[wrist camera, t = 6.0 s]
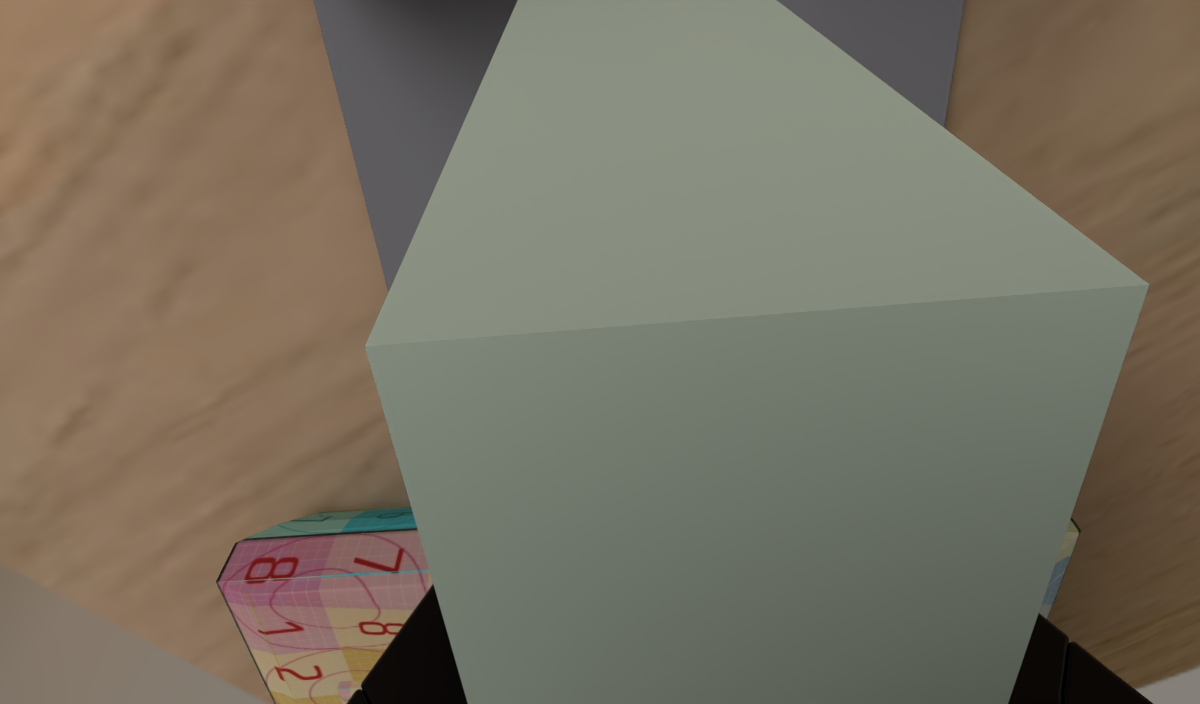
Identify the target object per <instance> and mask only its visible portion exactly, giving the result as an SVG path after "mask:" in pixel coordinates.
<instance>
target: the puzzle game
mask: <svg viewBox="0 0 1200 704" xmlns="http://www.w3.org/2000/svg"><path fill="white" fill-rule="evenodd" d="M1080 532H1081V529H1080V528H1079V527H1078V525H1077V524H1076V523H1075V521H1074V520H1073V519H1072V517H1071V518H1070V521H1069V524H1068V527H1067V530H1066V533H1065V536H1064V539H1063V542H1062V545H1061V548H1060V551H1059V554H1058V557H1057V560H1056V563H1055V566H1054V569H1053V572H1052V575H1051V578H1050V581H1049V584H1048V587H1047V590H1046V593H1045V596H1044V599H1043V601H1042V604H1041V607H1040V610H1039V613H1040V614H1041V615H1042V616H1044V617H1045V618H1046V619H1048V616H1049V613H1050V611H1051V608H1052V606H1053V603H1054V600H1055V598H1056V595H1057V592H1058V590H1059V587H1060V584H1061V582H1062V579H1063V577H1064V574H1065V571H1066V569H1067V566H1068V563H1069V561H1070V558H1071V556H1072V553H1073V550H1074V548H1075V545H1076V542H1077V540H1078V537H1079V534H1080ZM216 583H217V585H218V588H219V590H220V592H221V594H222V596H223V598H224V600H225V602H226V604H227V606H228V608H229V610H230V612H231V615H232V617H233V619H234V621H235V623H236V625H237V627H238V629H239V631H240V633H241V635H242V637H243V639H244V642H245V644H246V646H247V648H248V650H249V652H250V654H251V656H252V658H253V660H254V662H255V664H256V666H257V669H258V671H259V673H260V675H261V677H262V679H263V681H264V683H265V685H266V687H267V689H268V691H269V693H270V696H271V698H272V700H273V702H274V704H346V703H347V702H348V701H349V699H350V698H351V696H352V695H353V694H354V692H355V691H356V690H358V689H361V690H362V688H361V683H362V682H363V680H364V679H365V678H366V676H367V675H368V673H369V672H370V671H371V669H372V668H373V666H374V665H375V664H376V662H377V661H378V659H379V658H380V657H381V655H382V654H383V653H384V651H385V650H386V648H387V647H388V646H389V644H390V643H391V641H392V640H393V639H394V637H395V636H396V634H397V633H398V632H399V630H400V629H401V628H402V626H403V625H404V623H405V622H406V621H407V619H408V618H409V616H410V615H411V614H412V612H413V611H414V609H415V608H416V607H417V605H418V604H419V603H420V601H421V600H422V598H423V597H424V596H425V594H426V593H427V591H428V590H429V589H430V587H431V586H432V584H433V581H432V578H431V574H430V571H429V567H428V564H427V560H426V557H425V553H424V550H423V546H422V543H421V539H420V536H419V533H418V529H417V526H416V522H415V519H414V515H413V512H412V508H411V507H405V508H388V509H372V510H356V511H339V512H323V513H317V514H313V515H310V516H306V517H303V518H299V519H295V520H292V521H288V522H284V523H281V524H278V525H276V526H274V527H271V528H269V529H267V530H264V531H262V532H260V533H258V534H255V535H253V536H251V537H248V538H246V539H244V540H241V541H239V542H237V543H235V545H234V547H233V549H232V551H231V553H230V555H229V557H228V559H227V561H226V563H225V565H224V567H223V569H222V571H221V573H220V575H219V577H218V579H217V581H216Z"/></svg>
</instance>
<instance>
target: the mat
mask: <svg viewBox="0 0 1200 704" xmlns="http://www.w3.org/2000/svg"><path fill="white" fill-rule="evenodd" d="M517 1H518V0H314V4H315V7H316V11H317V15H318V19H319V23H320V27H321V31H322V35H323V39H324V43H325V46H326V50H327V54H328V58H329V62H330V66H331V70H332V74H333V78H334V82H335V85H336V89H337V93H338V97H339V101H340V105H341V109H342V113H343V117H344V121H345V124H346V128H347V132H348V136H349V140H350V144H351V148H352V152H353V156H354V160H355V163H356V167H357V171H358V175H359V179H360V183H361V187H362V191H363V195H364V199H365V202H366V206H367V210H368V214H369V218H370V222H371V226H372V230H373V234H374V238H375V241H376V245H377V249H378V253H379V257H380V261H381V265H382V269H383V273H384V277H385V280H386V284H387V288H388V292H389V291H390V288H391V286H392V284H393V282H394V279H395V277H396V275H397V273H398V270H399V268H400V266H401V263H402V261H403V259H404V257H405V254H406V252H407V250H408V248H409V245H410V243H411V241H412V239H413V236H414V234H415V232H416V229H417V227H418V225H419V223H420V220H421V218H422V216H423V214H424V211H425V209H426V207H427V205H428V202H429V200H430V198H431V196H432V193H433V191H434V189H435V186H436V184H437V182H438V180H439V177H440V175H441V173H442V171H443V168H444V166H445V164H446V162H447V159H448V157H449V155H450V152H451V150H452V148H453V146H454V143H455V141H456V139H457V137H458V134H459V132H460V130H461V128H462V125H463V123H464V121H465V118H466V116H467V114H468V112H469V109H470V107H471V105H472V103H473V100H474V98H475V96H476V94H477V91H478V89H479V87H480V85H481V82H482V80H483V78H484V75H485V73H486V71H487V69H488V66H489V64H490V62H491V60H492V57H493V55H494V53H495V51H496V48H497V46H498V44H499V41H500V39H501V37H502V35H503V32H504V30H505V28H506V26H507V23H508V21H509V19H510V17H511V14H512V12H513V10H514V7H515V5H516V3H517ZM777 1H778V2H780V3H781V4H782V5H784V6H785V7H786V8H788V9H789V10H790V11H791V12H793V13H794V14H795V15H797V16H798V17H799V18H801V19H802V20H803V21H805V22H806V23H807V24H809V25H810V26H811V27H812V28H814V29H815V30H816V31H818V32H819V33H820V34H822V35H823V36H824V37H826V38H827V39H828V40H829V41H831V42H832V43H833V44H835V45H836V46H837V47H839V48H840V49H841V50H843V51H844V52H845V53H847V54H848V55H849V56H850V57H852V58H853V59H854V60H856V61H857V62H858V63H860V64H861V65H862V66H864V67H865V68H866V69H867V70H869V71H870V72H871V73H873V74H874V75H875V76H877V77H878V78H879V79H881V80H882V81H883V82H885V83H886V84H887V85H888V86H890V87H891V88H892V89H894V90H895V91H896V92H898V93H899V94H900V95H902V96H903V97H904V98H905V99H907V100H908V101H909V102H911V103H912V104H913V105H915V106H916V107H917V108H919V109H920V110H921V111H923V112H924V113H925V114H926V115H928V116H929V117H930V118H932V119H933V120H934V121H936V122H937V123H938V124H940V125H941V126H942V127H944V126H945V119H946V113H947V107H948V100H949V94H950V88H951V81H952V75H953V69H954V63H955V56H956V50H957V44H958V37H959V31H960V25H961V18H962V12H963V6H964V0H777Z"/></svg>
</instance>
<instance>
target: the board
mask: <svg viewBox="0 0 1200 704" xmlns="http://www.w3.org/2000/svg"><path fill="white" fill-rule="evenodd" d="M1148 287H1149V284H1148V283H1147V282H1145V281H1144V280H1143V279H1141V278H1140V277H1139V276H1137V275H1136V274H1135V273H1134V272H1132V271H1131V270H1130V269H1128V268H1127V267H1126V266H1124V265H1123V264H1122V263H1120V262H1119V261H1118V260H1116V259H1115V258H1114V257H1113V256H1111V255H1110V254H1109V253H1107V252H1106V251H1105V250H1103V249H1102V248H1101V247H1099V246H1098V245H1097V244H1096V243H1094V242H1093V241H1092V240H1090V239H1089V238H1088V237H1086V236H1085V235H1084V234H1082V233H1081V232H1080V231H1078V230H1077V229H1076V228H1075V227H1073V226H1072V225H1071V224H1069V223H1068V222H1067V221H1065V220H1064V219H1063V218H1061V217H1060V216H1059V215H1058V214H1056V213H1055V212H1054V211H1052V210H1051V209H1050V208H1048V207H1047V206H1046V205H1044V204H1043V203H1042V202H1040V201H1039V200H1038V199H1037V198H1035V197H1034V196H1033V195H1031V194H1030V193H1029V192H1027V191H1026V190H1025V189H1023V188H1022V187H1021V186H1020V185H1018V184H1017V183H1016V182H1014V181H1013V180H1012V179H1010V178H1009V177H1008V176H1006V175H1005V174H1004V173H1002V172H1001V171H1000V170H999V169H997V168H996V167H995V166H993V165H992V164H991V163H989V162H988V161H987V160H985V159H984V158H983V157H982V156H980V155H979V154H978V153H976V152H975V151H974V150H972V149H971V148H970V147H968V146H967V145H966V144H964V143H963V142H962V141H961V140H959V139H958V138H957V137H955V136H954V135H953V134H951V133H950V132H949V131H947V130H946V129H945V128H944V127H942V126H941V125H940V124H938V123H937V122H936V121H934V120H933V119H932V118H930V117H929V116H928V115H926V114H925V113H924V112H923V111H921V110H920V109H919V108H917V107H916V106H915V105H913V104H912V103H911V102H909V101H908V100H907V99H905V98H904V97H903V96H902V95H900V94H899V93H898V92H896V91H895V90H894V89H892V88H891V87H890V86H888V85H887V84H886V83H885V82H883V81H882V80H881V79H879V78H878V77H877V76H875V75H874V74H873V73H871V72H870V71H869V70H867V69H866V68H865V67H864V66H862V65H861V64H860V63H858V62H857V61H856V60H854V59H853V58H852V57H850V56H849V55H848V54H847V53H845V52H844V51H843V50H841V49H840V48H839V47H837V46H836V45H835V44H833V43H832V42H831V41H829V40H828V39H827V38H826V37H824V36H823V35H822V34H820V33H819V32H818V31H816V30H815V29H814V28H812V27H811V26H810V25H809V24H807V23H806V22H805V21H803V20H802V19H801V18H799V17H798V16H797V15H795V14H794V13H793V12H791V11H790V10H789V9H788V8H786V7H785V6H784V5H782V4H781V3H780V2H778V1H777V0H518V1H517V3H516V5H515V7H514V10H513V12H512V14H511V17H510V19H509V21H508V23H507V26H506V28H505V30H504V32H503V35H502V37H501V39H500V41H499V44H498V46H497V48H496V51H495V53H494V55H493V57H492V60H491V62H490V64H489V66H488V69H487V71H486V73H485V75H484V78H483V80H482V82H481V85H480V87H479V89H478V91H477V94H476V96H475V98H474V100H473V103H472V105H471V107H470V109H469V112H468V114H467V116H466V118H465V121H464V123H463V125H462V128H461V130H460V132H459V134H458V137H457V139H456V141H455V143H454V146H453V148H452V150H451V152H450V155H449V157H448V159H447V162H446V164H445V166H444V168H443V171H442V173H441V175H440V177H439V180H438V182H437V184H436V186H435V189H434V191H433V193H432V196H431V198H430V200H429V202H428V205H427V207H426V209H425V211H424V214H423V216H422V218H421V220H420V223H419V225H418V227H417V229H416V232H415V234H414V236H413V239H412V241H411V243H410V245H409V248H408V250H407V252H406V254H405V257H404V259H403V261H402V263H401V266H400V268H399V270H398V273H397V275H396V277H395V279H394V282H393V284H392V286H391V288H390V291H389V293H388V295H387V297H386V300H385V302H384V304H383V307H382V309H381V311H380V313H379V316H378V318H377V320H376V322H375V325H374V327H373V329H372V331H371V334H370V336H369V338H368V340H367V343H366V345H365V348H366V352H367V355H368V359H369V362H370V366H371V369H372V373H373V376H374V380H375V383H376V387H377V390H378V394H379V397H380V401H381V404H382V407H383V411H384V414H385V418H386V421H387V425H388V428H389V432H390V435H391V439H392V442H393V446H394V449H395V453H396V456H397V460H398V463H399V467H400V470H401V473H402V477H403V480H404V484H405V487H406V491H407V494H408V498H409V501H410V505H411V508H412V512H413V515H414V519H415V522H416V526H417V529H418V533H419V536H420V539H421V543H422V546H423V550H424V553H425V557H426V560H427V564H428V567H429V571H430V574H431V578H432V581H433V585H434V588H435V592H436V595H437V599H438V602H439V605H440V609H441V612H442V616H443V619H444V623H445V626H446V630H447V633H448V637H449V640H450V644H451V647H452V651H453V654H454V658H455V661H456V665H457V668H458V671H459V675H460V678H461V682H462V685H463V689H464V692H465V696H466V699H467V703H468V704H1008V702H1009V699H1010V696H1011V693H1012V690H1013V688H1014V685H1015V682H1016V679H1017V676H1018V673H1019V670H1020V667H1021V664H1022V661H1023V658H1024V655H1025V652H1026V649H1027V646H1028V643H1029V640H1030V637H1031V634H1032V631H1033V628H1034V625H1035V622H1036V619H1037V616H1038V613H1039V610H1040V607H1041V604H1042V601H1043V599H1044V596H1045V593H1046V590H1047V587H1048V584H1049V581H1050V578H1051V575H1052V572H1053V569H1054V566H1055V563H1056V560H1057V557H1058V554H1059V551H1060V548H1061V545H1062V542H1063V539H1064V536H1065V533H1066V530H1067V527H1068V524H1069V521H1070V518H1071V515H1072V512H1073V510H1074V507H1075V504H1076V501H1077V498H1078V495H1079V492H1080V489H1081V486H1082V483H1083V480H1084V477H1085V474H1086V471H1087V468H1088V465H1089V462H1090V459H1091V456H1092V453H1093V450H1094V447H1095V444H1096V441H1097V438H1098V435H1099V432H1100V429H1101V426H1102V423H1103V420H1104V418H1105V415H1106V412H1107V409H1108V406H1109V403H1110V400H1111V397H1112V394H1113V391H1114V388H1115V385H1116V382H1117V379H1118V376H1119V373H1120V370H1121V367H1122V364H1123V361H1124V358H1125V355H1126V352H1127V349H1128V346H1129V343H1130V340H1131V337H1132V334H1133V331H1134V329H1135V326H1136V323H1137V320H1138V317H1139V314H1140V311H1141V308H1142V305H1143V302H1144V299H1145V296H1146V293H1147V290H1148Z"/></svg>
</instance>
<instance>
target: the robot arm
mask: <svg viewBox="0 0 1200 704" xmlns="http://www.w3.org/2000/svg"><path fill="white" fill-rule="evenodd" d="M361 688H362V690H361V689H358V690H356V691H355V692H354V694H353V695H352V696H351V698H350V699H349V701H348V702H347V703H346V704H468V703H467V699H466V696H465V692H464V689H463V685H462V682H461V678H460V675H459V671H458V668H457V665H456V661H455V658H454V654H453V651H452V647H451V644H450V640H449V637H448V633H447V630H446V626H445V623H444V619H443V616H442V612H441V609H440V605H439V602H438V599H437V595H436V592H435V588H434V585H433V584H432V586H431V587H430V589H429V590H428V591H427V593H426V594H425V596H424V597H423V598H422V600H421V601H420V603H419V604H418V605H417V607H416V608H415V609H414V611H413V612H412V614H411V615H410V616H409V618H408V619H407V621H406V622H405V623H404V625H403V626H402V628H401V629H400V630H399V632H398V633H397V634H396V636H395V637H394V639H393V640H392V641H391V643H390V644H389V646H388V647H387V648H386V650H385V651H384V653H383V654H382V655H381V657H380V658H379V659H378V661H377V662H376V664H375V665H374V666H373V668H372V669H371V671H370V672H369V673H368V675H367V676H366V678H365V679H364V680H363V682H362V683H361ZM1008 704H1153V703H1152V702H1150V701H1149V700H1148V699H1147V698H1145V697H1144V696H1143V695H1141V694H1140V693H1139V692H1138V691H1136V690H1135V689H1134V688H1132V687H1131V686H1130V685H1129V684H1127V683H1126V682H1125V681H1123V680H1122V679H1121V678H1120V677H1118V676H1117V675H1116V674H1114V673H1113V672H1112V671H1111V670H1109V669H1108V668H1107V667H1106V666H1104V665H1103V664H1102V663H1101V662H1099V661H1098V660H1097V659H1096V658H1094V657H1093V656H1092V655H1091V654H1090V653H1088V652H1087V651H1086V650H1085V649H1083V648H1082V647H1081V646H1080V645H1078V644H1077V643H1076V642H1070V643H1069V638H1068V636H1067V635H1066V634H1065V633H1063V632H1062V631H1061V630H1060V629H1058V628H1057V627H1056V626H1055V625H1053V624H1052V623H1051V622H1050V621H1049V620H1047V619H1046V618H1045V617H1044V616H1042V615H1041V614H1040V613H1038V616H1037V619H1036V622H1035V625H1034V628H1033V631H1032V634H1031V637H1030V640H1029V643H1028V646H1027V649H1026V652H1025V655H1024V658H1023V661H1022V664H1021V667H1020V670H1019V673H1018V676H1017V679H1016V682H1015V685H1014V688H1013V690H1012V693H1011V696H1010V699H1009V702H1008Z"/></svg>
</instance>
